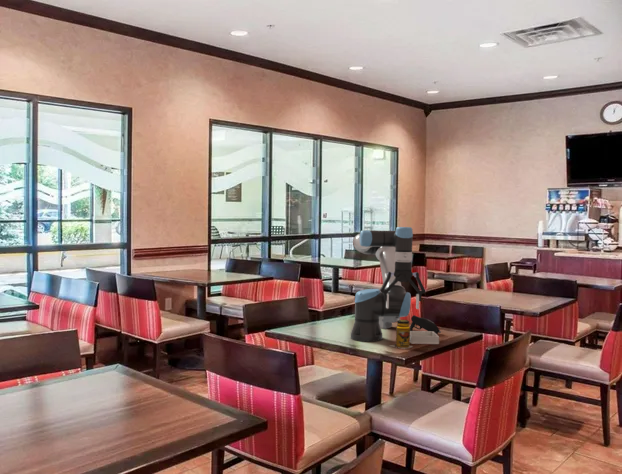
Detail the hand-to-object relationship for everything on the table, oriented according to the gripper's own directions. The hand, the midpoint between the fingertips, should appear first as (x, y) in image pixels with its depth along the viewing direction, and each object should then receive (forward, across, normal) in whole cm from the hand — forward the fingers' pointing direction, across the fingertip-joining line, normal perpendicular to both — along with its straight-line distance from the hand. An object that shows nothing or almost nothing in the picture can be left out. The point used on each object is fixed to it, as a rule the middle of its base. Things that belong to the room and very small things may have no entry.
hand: (402, 308), depth 265 cm
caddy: (+17, +12, +12) cm, 24 cm away
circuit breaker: (+17, 0, +44) cm, 47 cm away
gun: (+18, +17, +29) cm, 38 cm away
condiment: (+18, 0, 0) cm, 18 cm away
